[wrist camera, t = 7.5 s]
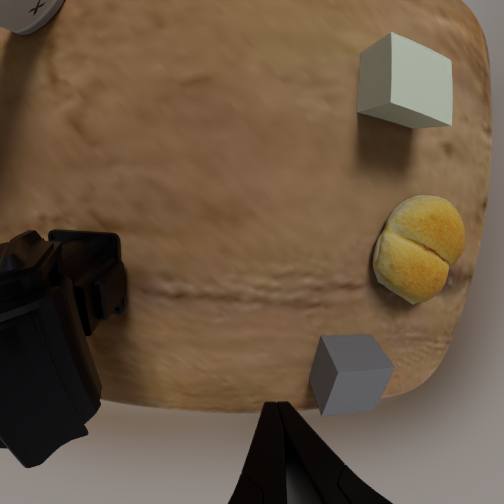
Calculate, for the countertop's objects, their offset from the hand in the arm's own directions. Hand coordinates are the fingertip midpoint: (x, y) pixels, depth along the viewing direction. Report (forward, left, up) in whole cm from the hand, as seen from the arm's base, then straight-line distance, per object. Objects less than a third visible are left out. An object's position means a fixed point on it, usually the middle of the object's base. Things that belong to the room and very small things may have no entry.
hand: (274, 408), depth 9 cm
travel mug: (-21, +23, -13) cm, 34 cm away
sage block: (+9, +15, -13) cm, 22 cm away
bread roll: (+14, +3, -14) cm, 19 cm away
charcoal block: (+9, -8, -13) cm, 18 cm away
